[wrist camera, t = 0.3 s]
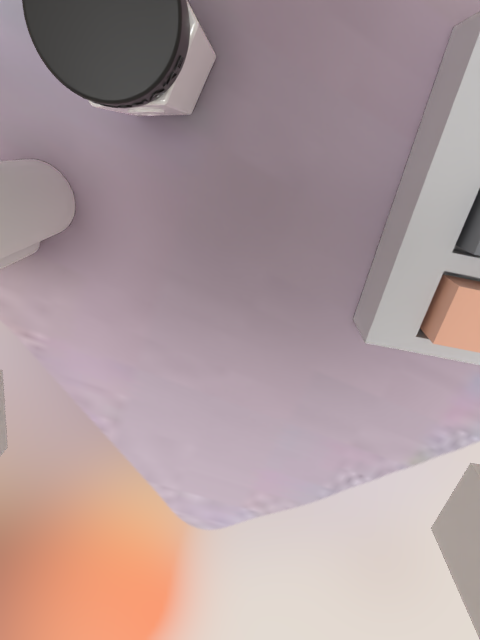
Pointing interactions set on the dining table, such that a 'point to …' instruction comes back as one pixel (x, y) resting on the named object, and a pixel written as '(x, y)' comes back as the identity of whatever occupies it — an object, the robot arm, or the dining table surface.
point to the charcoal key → (471, 229)
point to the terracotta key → (454, 314)
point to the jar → (124, 52)
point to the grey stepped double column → (31, 207)
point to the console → (430, 209)
